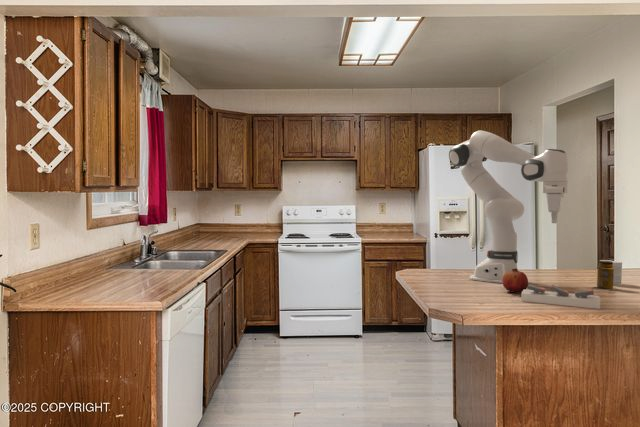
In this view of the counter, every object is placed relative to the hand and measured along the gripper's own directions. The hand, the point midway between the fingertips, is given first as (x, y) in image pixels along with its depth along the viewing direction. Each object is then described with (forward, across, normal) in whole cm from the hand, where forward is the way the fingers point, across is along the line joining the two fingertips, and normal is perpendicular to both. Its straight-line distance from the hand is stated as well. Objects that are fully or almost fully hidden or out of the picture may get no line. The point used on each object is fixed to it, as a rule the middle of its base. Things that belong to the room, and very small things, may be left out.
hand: (554, 223), depth 194 cm
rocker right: (+24, +16, +11) cm, 31 cm away
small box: (+29, -39, +22) cm, 54 cm away
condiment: (+29, -25, +19) cm, 43 cm away
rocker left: (+24, +16, -5) cm, 30 cm away
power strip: (+29, +15, +3) cm, 33 cm away
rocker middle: (+24, +16, +3) cm, 29 cm away
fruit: (+29, +3, -14) cm, 33 cm away
